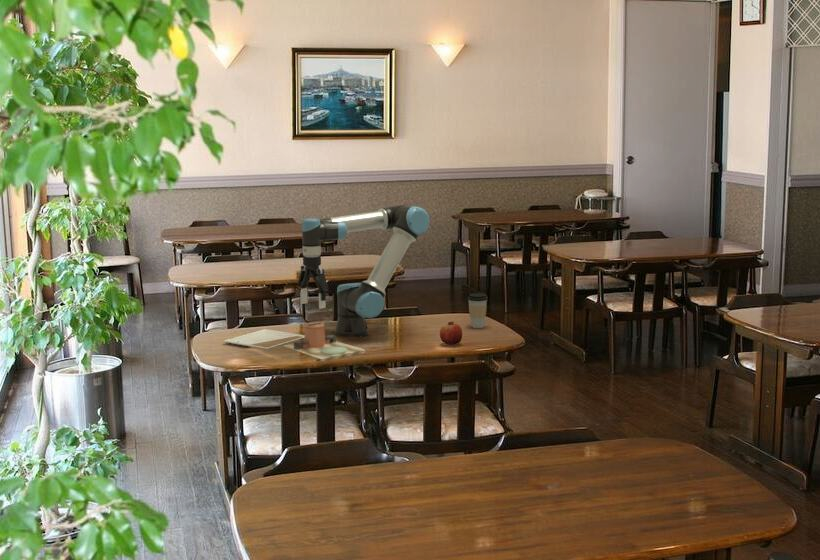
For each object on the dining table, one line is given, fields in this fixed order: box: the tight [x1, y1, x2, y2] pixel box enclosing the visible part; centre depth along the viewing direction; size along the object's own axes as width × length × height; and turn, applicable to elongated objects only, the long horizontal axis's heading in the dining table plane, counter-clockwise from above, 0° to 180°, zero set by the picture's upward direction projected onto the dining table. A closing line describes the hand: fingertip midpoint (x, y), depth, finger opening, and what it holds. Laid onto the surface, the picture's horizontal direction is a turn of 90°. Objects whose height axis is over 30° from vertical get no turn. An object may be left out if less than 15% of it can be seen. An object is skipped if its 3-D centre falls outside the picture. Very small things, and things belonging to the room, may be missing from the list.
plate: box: [223, 328, 305, 350], centre depth 429 cm, size 26×26×2 cm
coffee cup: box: [467, 292, 489, 329], centre depth 449 cm, size 9×9×15 cm
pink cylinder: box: [301, 321, 330, 348], centre depth 415 cm, size 14×8×9 cm, turn 129°
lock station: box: [282, 334, 367, 363], centre depth 411 cm, size 22×30×8 cm
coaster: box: [321, 347, 347, 355], centre depth 405 cm, size 11×11×1 cm
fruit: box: [439, 321, 463, 346], centre depth 417 cm, size 11×10×10 cm
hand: (313, 305), depth 413 cm, fingers open, 13 cm apart
